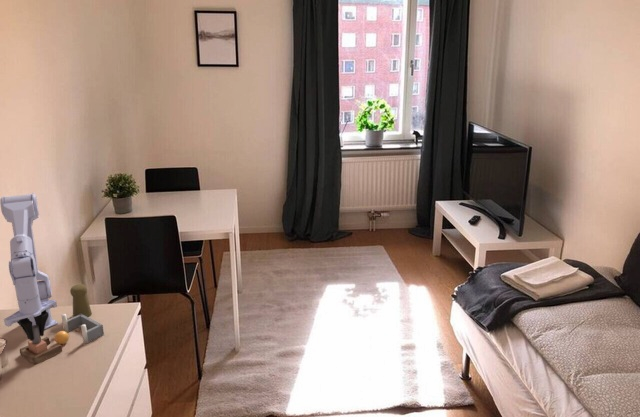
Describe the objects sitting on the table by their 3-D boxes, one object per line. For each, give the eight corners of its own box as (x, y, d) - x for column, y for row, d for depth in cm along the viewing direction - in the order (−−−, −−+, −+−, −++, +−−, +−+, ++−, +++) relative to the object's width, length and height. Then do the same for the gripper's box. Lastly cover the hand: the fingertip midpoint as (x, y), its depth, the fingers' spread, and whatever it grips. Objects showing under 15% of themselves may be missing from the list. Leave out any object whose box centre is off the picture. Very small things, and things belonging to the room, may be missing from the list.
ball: (53, 343, 170) (51, 332, 169) (65, 338, 173) (63, 327, 172) (60, 348, 168) (58, 336, 166) (72, 342, 171) (70, 331, 170)
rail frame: (20, 355, 164) (19, 349, 164) (47, 342, 171) (46, 336, 170) (34, 364, 160) (33, 358, 159) (62, 351, 166) (61, 345, 166)
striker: (29, 352, 165) (24, 326, 162) (39, 348, 167) (34, 322, 164) (38, 358, 162) (33, 331, 159) (48, 353, 164) (43, 327, 161)
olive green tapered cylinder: (85, 320, 184) (80, 291, 180) (69, 318, 185) (64, 289, 181) (95, 311, 189) (91, 282, 186) (79, 309, 190) (75, 281, 187)
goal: (63, 331, 177) (60, 315, 175) (82, 322, 182) (79, 306, 180) (85, 344, 170) (82, 327, 168) (104, 334, 175) (102, 318, 173)
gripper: (9, 310, 151) (18, 352, 155) (59, 290, 162) (66, 330, 166) (-3, 303, 155) (5, 344, 159) (46, 284, 166) (53, 323, 170)
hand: (35, 337), depth 163 cm, fingers closed on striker, 2 cm apart
